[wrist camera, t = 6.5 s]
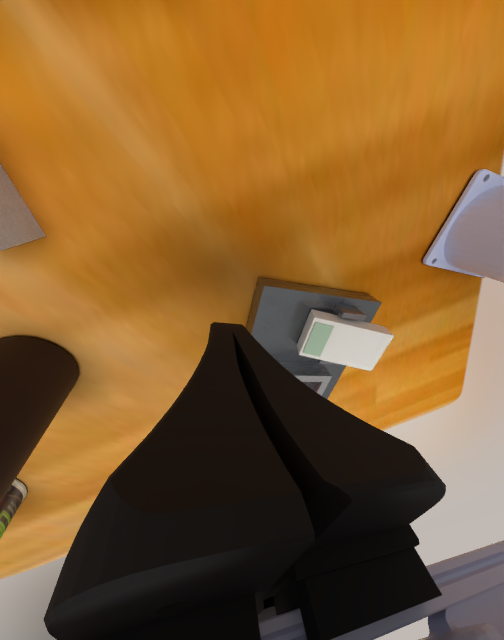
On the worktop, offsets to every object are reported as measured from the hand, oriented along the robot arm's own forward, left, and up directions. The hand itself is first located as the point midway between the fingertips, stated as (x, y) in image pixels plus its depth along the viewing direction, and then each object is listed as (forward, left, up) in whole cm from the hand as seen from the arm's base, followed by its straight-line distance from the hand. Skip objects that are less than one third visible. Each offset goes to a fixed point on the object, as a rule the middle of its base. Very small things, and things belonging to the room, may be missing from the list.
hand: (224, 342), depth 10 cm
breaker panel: (-10, +8, -10) cm, 16 cm away
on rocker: (-12, +3, -6) cm, 14 cm away
